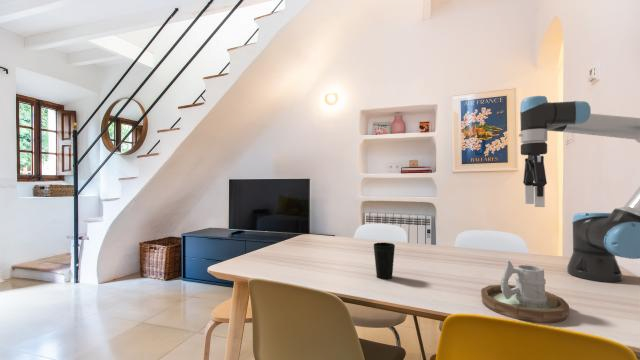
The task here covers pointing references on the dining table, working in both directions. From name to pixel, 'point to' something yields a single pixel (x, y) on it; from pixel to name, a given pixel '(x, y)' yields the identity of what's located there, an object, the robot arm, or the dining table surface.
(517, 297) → the mug
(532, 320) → the tray
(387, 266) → the cup
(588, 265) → the robot arm
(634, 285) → the dining table surface
